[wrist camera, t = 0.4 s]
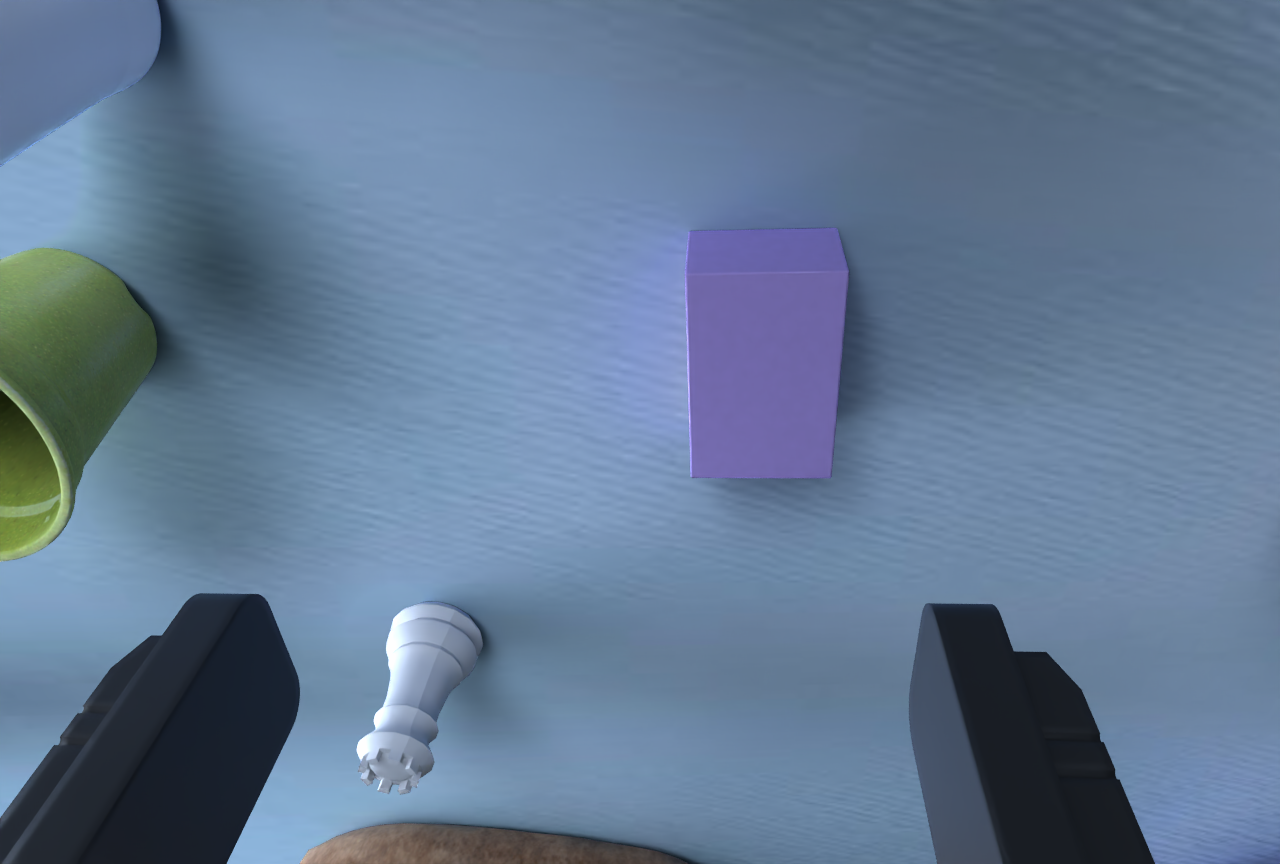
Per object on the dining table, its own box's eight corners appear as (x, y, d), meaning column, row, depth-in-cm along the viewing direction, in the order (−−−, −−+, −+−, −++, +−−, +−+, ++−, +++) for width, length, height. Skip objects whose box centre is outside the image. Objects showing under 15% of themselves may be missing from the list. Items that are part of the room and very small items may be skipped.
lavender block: (688, 230, 30) (685, 273, 27) (837, 226, 30) (849, 271, 27) (693, 423, 35) (690, 478, 32) (822, 423, 34) (831, 479, 31)
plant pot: (-60, 160, 31) (-294, 264, 24) (212, 256, 32) (66, 381, 25) (-37, 373, 36) (-224, 510, 29) (195, 447, 37) (71, 596, 30)
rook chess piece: (414, 582, 41) (356, 728, 34) (500, 621, 42) (459, 770, 35) (380, 636, 43) (319, 782, 37) (462, 672, 44) (417, 820, 38)
